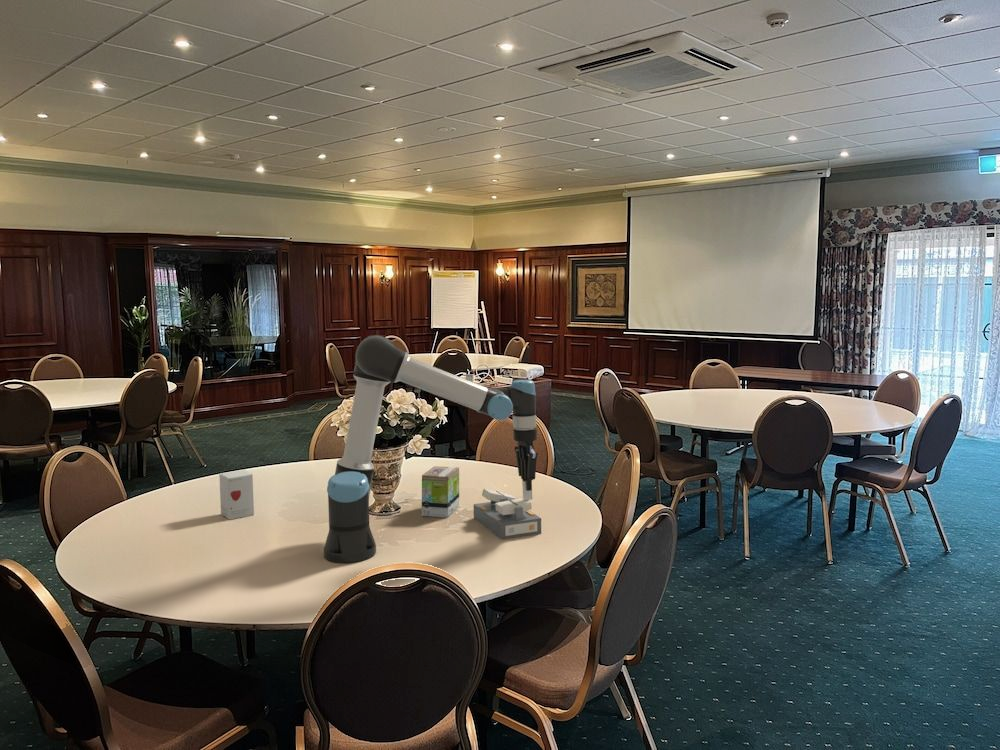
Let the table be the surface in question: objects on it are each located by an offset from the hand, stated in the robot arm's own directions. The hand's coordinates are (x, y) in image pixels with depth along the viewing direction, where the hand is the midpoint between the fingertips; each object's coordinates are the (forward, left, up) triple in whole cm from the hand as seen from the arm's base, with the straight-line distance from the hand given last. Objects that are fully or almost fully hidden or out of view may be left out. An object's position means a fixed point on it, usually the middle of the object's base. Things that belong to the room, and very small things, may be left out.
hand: (527, 499), depth 226 cm
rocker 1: (-5, +12, -3) cm, 13 cm away
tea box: (-20, +31, -10) cm, 38 cm away
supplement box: (-87, +57, -10) cm, 104 cm away
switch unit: (-5, +6, -10) cm, 13 cm away
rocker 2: (-5, 0, -3) cm, 6 cm away
